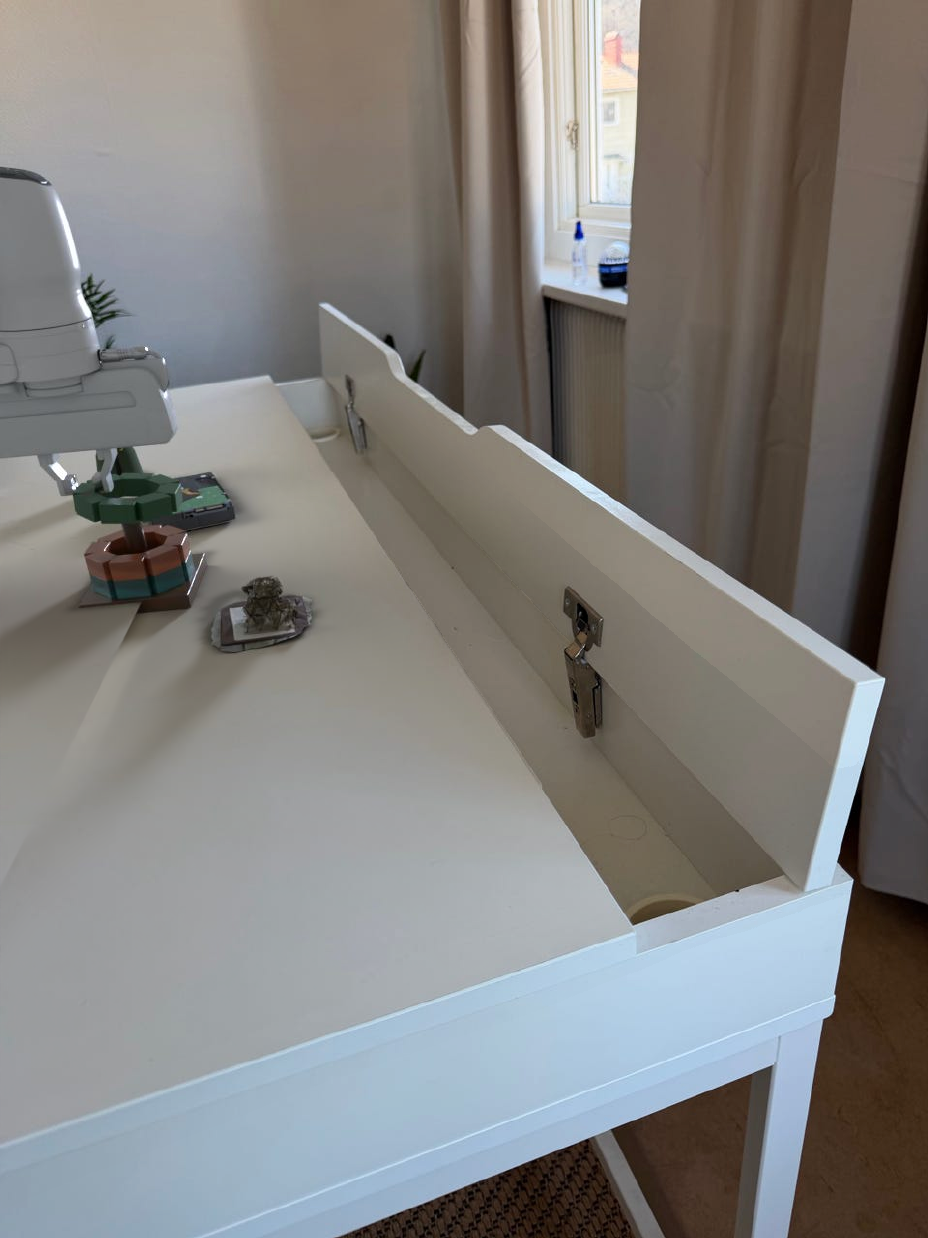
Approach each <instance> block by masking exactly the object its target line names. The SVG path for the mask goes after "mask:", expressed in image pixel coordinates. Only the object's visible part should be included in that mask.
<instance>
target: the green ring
mask: <svg viewBox="0 0 928 1238" xmlns="http://www.w3.org/2000/svg"><path fill="white" fill-rule="evenodd" d="M111 476H112V480H113V484H114V488H113V490H112V491H111V492H105V493H96V492H95V490H94V487H95V485H94V484H93V482H92V478H90V479H88V480H86V482H80V484H79V486H78V488H77V489H76V490H75V491H74V492H73V495H72V499H73V506H74V511H75V513H76V515H77V516H79V517H81V518H83V519H86V520H87V521H90V522H91V523H94V524H95V523H99V522H100V524H101V525H121V524H136V523H137V521H138V520H139V521H141V522H142V523H148V521H152V520H155V519H159V518H162V517H166V516H169V515H172V512H177V511H178V509H179V507H180V505H181V503H182V501H183V500H182V490H181V483H179V481H178V480H175V479H173V477H170V476H168V475H165V474H162V473H158V474H155V472H144V473H122V474H121V475H120V476H119V475H116V474H112V475H111Z"/></svg>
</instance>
